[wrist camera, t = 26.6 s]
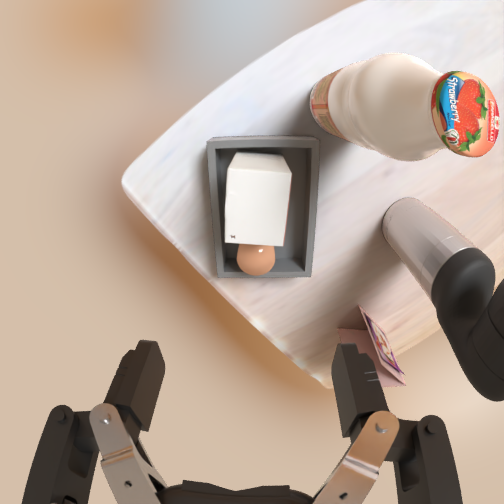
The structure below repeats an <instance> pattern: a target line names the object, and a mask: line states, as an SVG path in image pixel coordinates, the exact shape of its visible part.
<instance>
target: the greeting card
mask: <svg viewBox="0 0 504 504" xmlns="http://www.w3.org/2000/svg"><path fill="white" fill-rule="evenodd" d="M358 305H359V304H358ZM359 308H360V310H361V313H362V315H363V318H364V320H365V323H366V325H367V328H368V330H357V329H344V328H337V329H338V332H339V336H340V339H341V343H353V342H354V343H356V345H357V348H358V351H359V354H361V353H367V355H368V356H369V357H370V358H371V359H372V360H373V362H374V365H375V368H376V373H377V374H378V377H379V380H380V383H381V387H394V386H395V387H396V386H406V384H405V381H404V379H403V376H402V374H401V373H403V372H402V371H401V370H400V368H399V366H398V363H397V361H396V358H395V356H394V353H393V351H392V349H391V346H390V344H389V341H388V339H387V337H386V334H385V332H384V331H383V329H382V328H381V327H380V326H379V325H378V324H377V323H376V322H375V321H374V320H373V319H372V318H371V317H370V316H369V315H368V314H367V313H366V312H365V311H364V310H363V309H362V308H361V307H360V306H359ZM403 374H404V373H403Z"/></svg>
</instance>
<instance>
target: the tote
mask: <svg viewBox="0 0 504 504" xmlns="http://www.w3.org/2000/svg"><path fill="white" fill-rule="evenodd" d="M237 150H243V151H258V152H270V153H281V154H282V155H283V157H284V159H285V161H286V163H287V165H288V167H289V169H290V171H291V173H292V181H291V190H290V199H289V208H288V216H287V224H286V232H285V240H284V246H274V250H275V263H274V266H273V267H272V269H271V270H270V271H269V272H267V273H265V274H263V275H259V276H254V275H249V274H247V273H245V272H244V271H242V269H241V268H240V267H239V265H238V263H237V253H238V248H239V243H225V200H226V182H227V169H228V167H229V165H230V163H231V161H232V160H233V158H234V156H235V154H236V152H237ZM319 154H320V140H318V139H316V138H314V137H310V136H231V137H213V138H211V139H210V140H208V141H207V156H208V171H209V185H210V198H211V211H212V222H213V234H214V244H215V255H216V265H217V274H218V278H279V277H311V272H312V262H313V251H314V239H315V227H316V213H317V197H318V179H319Z"/></svg>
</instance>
